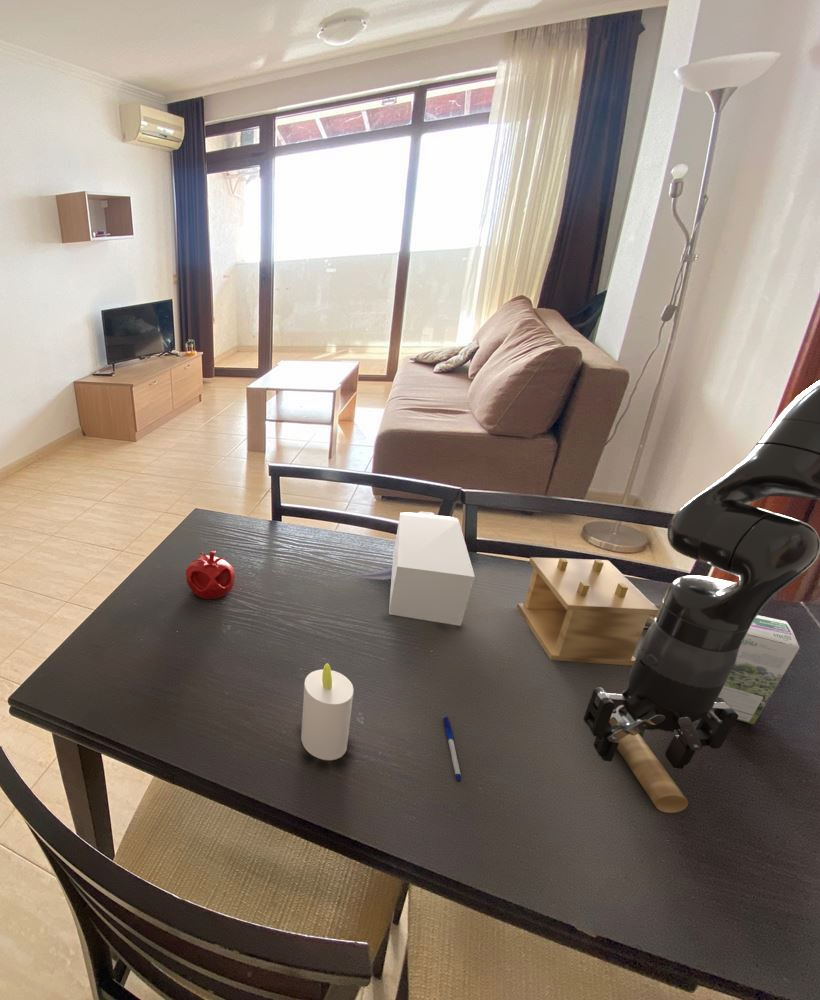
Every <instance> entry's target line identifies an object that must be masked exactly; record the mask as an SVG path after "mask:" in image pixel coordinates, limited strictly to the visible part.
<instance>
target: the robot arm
mask: <svg viewBox="0 0 820 1000" xmlns="http://www.w3.org/2000/svg"><path fill="white" fill-rule="evenodd" d="M770 497H784V498H785V497H786V498H794V499H801V500H820V379H819V380H818V381H816V382H815V383H813V384H812V385H810V386H809V387H808V388H806V389H805V390H803V391H802V392H801V393H800V394H798V395H797V396H796V397H794V399H792V400H791V402H789V403H788V404H787V405H786V406H785V407H784V408H783V410H781V412H780V413H779V414H778V415H777V417H776V418H775V419H774V421H772V423H771V424H770V425H769V427H768V429H767V430H765V432H764V433H763V435H761V437H760V438H759V440H758V441H757V442H756V443H755V445H754V446H753V448H752V449H751V450H750V452H749V453H748V454H747V455H746V456H745V457H744V458H743V459H742V460H741V461H740V462H738V463H737V464H736V465H734V466H733V467H732V468H730V470H728V471H727V472H726V473H725V474H723V475H722V476H721V477H719V478H718V479H717V480H716V481H714V482H713V483H711V484H710V485H708V487H706V488H705V489H703V490H702V491H700V492H699V493H698V494H696V495H694V496H693V497H692V498H691V499H689V500H688V501H686V502H685V503H684V504H683V505H682V506H681V507H680V508H679V509H677V511H676V512H675V513H674V514H673V516H672V518H671V519H670V521H669V523H668V526H667V541H668V544H669V545H670V547H671V548H672V549H673V550H674V551H676V552H677V553H679V554H681V555H683V556H685V557H688V558H690V559H692V560H695V561H698V562H700V563H703V564H706V565H708V566H711V567H713V568H716V569H718V570H720V571H723V572H726V573H728V574H731V575H734V576H736V577H738V579H737V581H733V580H732V581H731V580H726V579H721V578H717V577H713V576H712V577H711V576H708V575H707V576H706V575H696V574H689V575H688V574H687V575H682V576H679V577H677V578H675V579H674V580H673V581H672V582H671V583H670V584H669V586H668V588H667V590H666V592H665V594H664V596H663V599H662V602H661V604H660V605H659V606H660V608H659V611H658V613H657V616H656V618H655V620H654V622H653V623H652V624H651V626H650V627H649V628H647V630H646V633H645V635H644V638H643V639H642V642H641V645H640V647H639V649H638V651H637V654H636V657H635V661H634V664H633V666H631V669H630V671H629V675H628V686H627V687H626V688H625V689H624V690H623V691H621V692H620V693H610V692H606V690H605V689H604V688H602V687H596V688H594V689H593V691H592V693H591V696H590V699H589V702H588V705H587V707H586V711H585V713H584V716H583V722H584V723H585V724H586V726H587V727H588V728H589V730H590V731H591V734H592V735H593V737H595V739H594V742H593V743H592V745H593V748H594V749H595V752H596V753H597V755H598V757H600V758H601V760H602V761H604V762H612V761H613V758H614V756H615V754H616V751H617V750H618V749H617V747H618V745H619V742H618V741H619V740H620V739H622V738H624V737H625V736H627V735H629V734H630V735H636V734H638V733H640V732H641V731H643V730H645V729H646V730H649V731H650V730H651V731H652V730H653V731H654V730H659V731H660V730H661V731H664V732H670V733H674V732H675V731H676V733H677V734H674V735H673V737H672V739H671V741H670V743H669V745H668V747H667V749H666V751H665V754H664V755H665V758H666V760H667V761H668V762H669V764H670V765H671V766H672V768H673V769H676V770H677V769H678V770H683V769H684V768H685V766H687V765H689V764H690V763H691V761H692V760H693V757H694V755H695V753H696V751H700V750H701V749H702V748H703V747H709V748H711V749H720V748H721V747H722V746H723V744H724V742H726V739H727V737H728V735H729V733H731V731H732V729H733V727H734V726H735V724H736V722H737V721H738V720H737V718H738V714H737V713H736V712H735V711H734V710H733V709H732V708H731V707H730V706H729V705H728V704H727V703H726V702H725V701H724V700H723V699H722V698H719V697H718V696H719V694H720V692H721V690H722V688H723V686H724V684H725V682H726V680H727V678H728V676H729V675H730V673H731V671H732V669H733V667H734V664H735V662H736V659H737V655H738V651H739V648H740V646H741V644H742V642H743V640H744V638H745V636H746V634H747V632H748V630H749V628H750V626H751V624H752V622H753V621H754V619H755V617H756V616H757V615H759V614H760V612H761V611H762V610H763V609H764V608H765V606H766V605H768V604H769V602H771V601H772V600H773V598H774V597H776V595H778V593H780V592H781V591H782V590H783V589H785V588H786V587H787V586H788V585H789V584H791V583H792V582H794V581H795V580H796V579H797V578H799V577H800V576H801V575H802V574H804V573H805V572H806V571H807V570H808V569H809V568H810V567H812V565H813V564H814V563H815V562H816V561H817V559H818V558H819V555H820V536H819V533H818V532H817V530H816V529H815V528H814V527H813V526H811V525H810V524H808V523H807V522H804V521H802V520H800V519H797V518H793V517H790V516H788V515H784V514H780V513H776V512H774V511H770V510H767V509H764V508H760V507H757V506H753V505H750V504H752V503H754V502H756V501H759V500H761V499H764V498H770ZM627 713H629V714H630V716H631V717H632V718H633V720H634V722H633V723H630V722H629V721H628V719H627V718H626V714H627ZM698 720H699V722H698V724H697V726H696V728H695V727H694V724H693V723H694V722H696V721H698ZM617 723H619V727H618V728H616V729H615V730H614V729H613V727H612V726H614V725H616V724H617ZM646 730H645V731H646Z"/></svg>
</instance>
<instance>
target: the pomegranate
mask: <svg viewBox="0 0 820 1000" xmlns="http://www.w3.org/2000/svg"><path fill="white" fill-rule="evenodd" d="M216 552H217V550H214V551H213V550H211V551H209V552H208V554H209V555H206V553H204V552H198V555H199V557H198V558H196V559H195V560H192V561H191V562H190V563H189V565H188V566H187V567H186V569H185V577H186V578H185V579H186V580H185V581H186V583H187V585H188V588H189V589H190V591H191V592H192V593H193V594H194V595H195V596H196V597H199V598H201V599H205V600H215V599H220V598H223V597H225V596H226V595H227V594H229V593H230V592H231V591H232V589H233V587H234V583H235V579H236V576H235V574H236V573H235V569H234V567H233V566H232V564H230V563H229V562H228V561H226V560H227V559H228V558H227V557H226V558H225V557H222V556H221V557H217V556H215V555H216Z"/></svg>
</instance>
